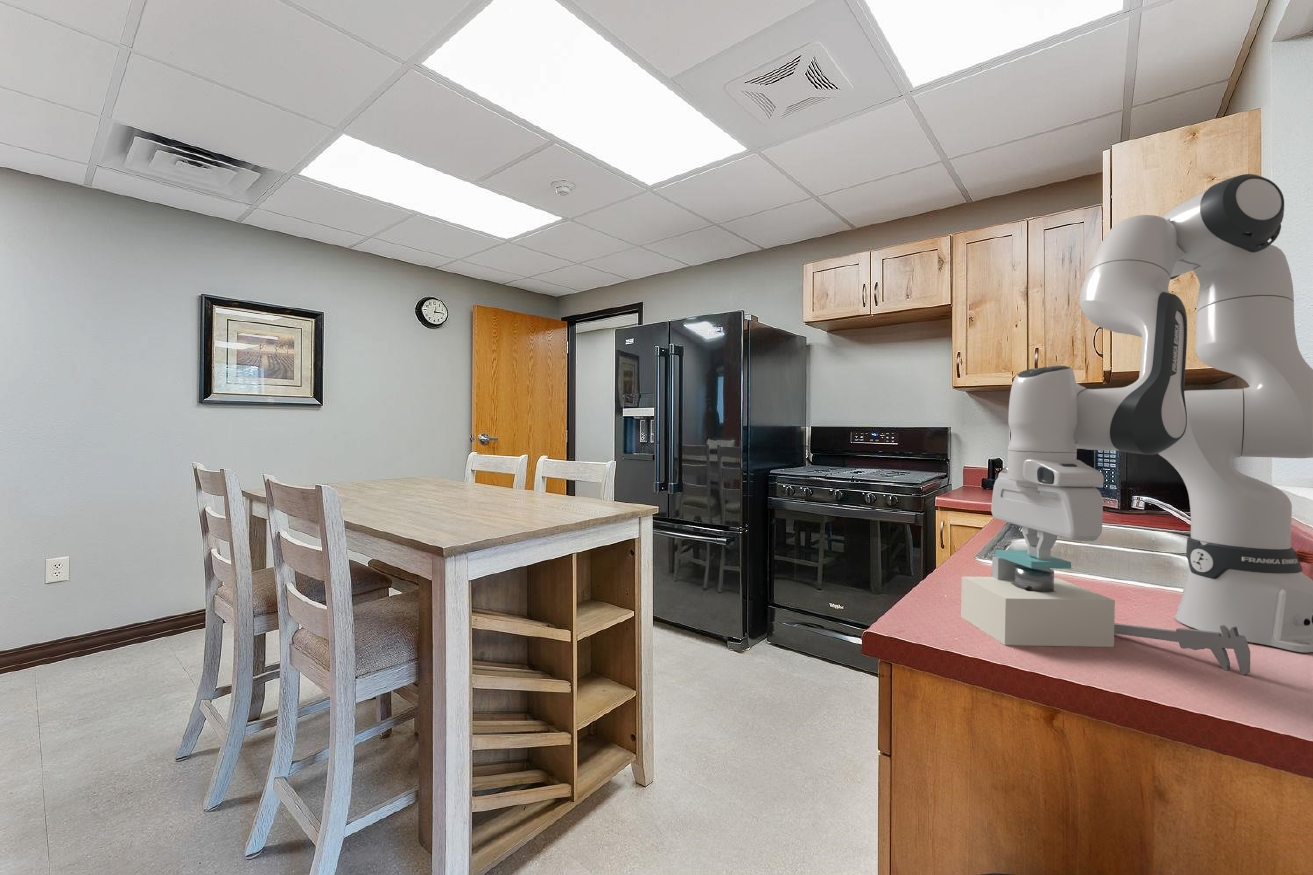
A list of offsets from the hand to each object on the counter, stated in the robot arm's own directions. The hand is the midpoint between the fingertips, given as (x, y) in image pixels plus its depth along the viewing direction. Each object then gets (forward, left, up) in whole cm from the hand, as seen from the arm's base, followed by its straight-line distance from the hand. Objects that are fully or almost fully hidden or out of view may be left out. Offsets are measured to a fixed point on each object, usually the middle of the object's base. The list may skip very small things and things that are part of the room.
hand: (1038, 558), depth 85 cm
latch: (0, -2, -1) cm, 2 cm away
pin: (0, -1, -12) cm, 12 cm away
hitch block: (0, -1, -12) cm, 12 cm away
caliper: (-14, +4, -12) cm, 19 cm away
